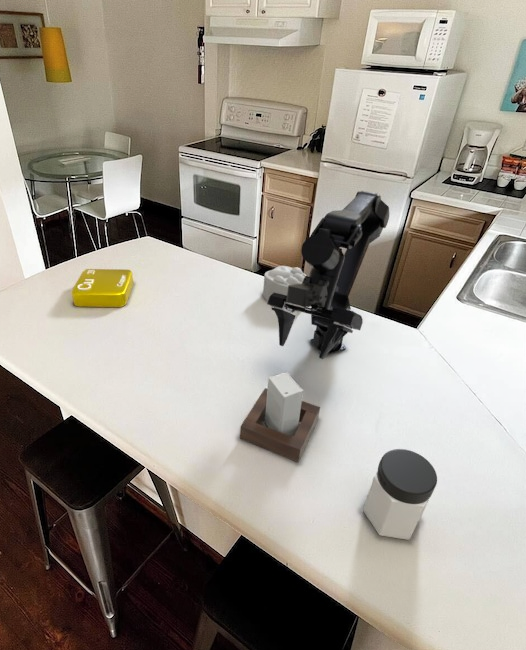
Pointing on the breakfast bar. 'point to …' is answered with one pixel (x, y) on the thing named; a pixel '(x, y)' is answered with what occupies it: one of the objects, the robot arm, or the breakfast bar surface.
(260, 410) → the frame
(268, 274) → the lumpy-topped squat cylinder
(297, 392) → the cosmetic box
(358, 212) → the robot arm
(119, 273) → the element tile
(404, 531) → the jar
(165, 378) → the breakfast bar surface
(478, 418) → the breakfast bar surface
